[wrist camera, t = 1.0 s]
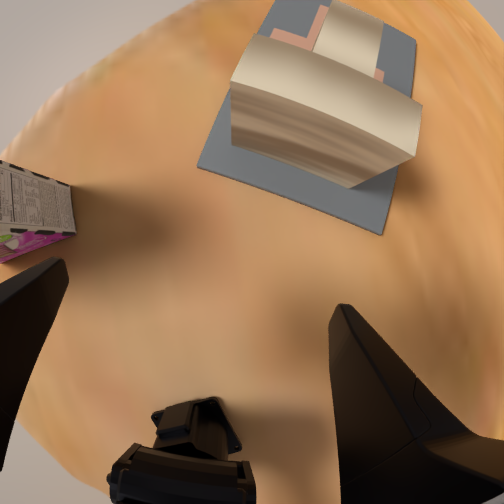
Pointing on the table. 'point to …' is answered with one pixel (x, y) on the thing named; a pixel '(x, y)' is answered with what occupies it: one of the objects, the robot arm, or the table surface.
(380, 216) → the slate board
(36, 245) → the candy bar box
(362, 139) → the maple T block
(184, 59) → the table surface
